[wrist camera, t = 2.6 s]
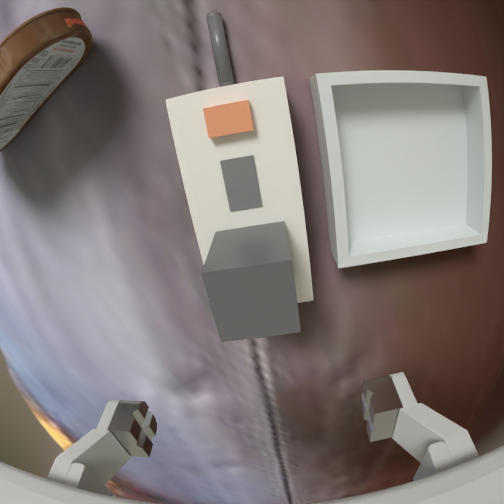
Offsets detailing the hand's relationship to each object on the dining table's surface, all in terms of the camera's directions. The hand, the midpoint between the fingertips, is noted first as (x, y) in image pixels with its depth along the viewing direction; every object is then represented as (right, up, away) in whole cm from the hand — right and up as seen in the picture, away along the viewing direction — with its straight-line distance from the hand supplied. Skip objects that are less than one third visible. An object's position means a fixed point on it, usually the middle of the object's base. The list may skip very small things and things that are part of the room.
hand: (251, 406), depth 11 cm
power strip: (-1, +13, +11) cm, 17 cm away
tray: (+11, +12, +11) cm, 20 cm away
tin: (-17, +19, +9) cm, 27 cm away
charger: (0, +6, +12) cm, 13 cm away
